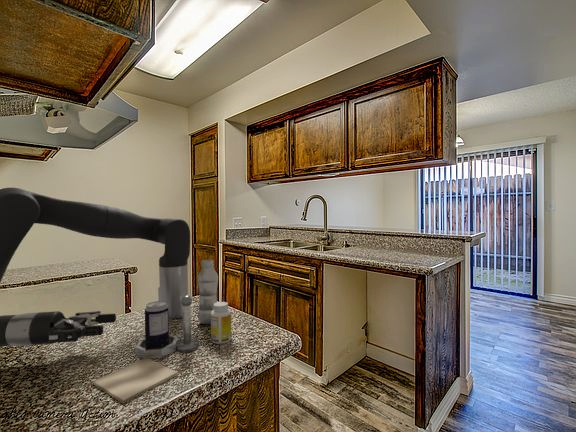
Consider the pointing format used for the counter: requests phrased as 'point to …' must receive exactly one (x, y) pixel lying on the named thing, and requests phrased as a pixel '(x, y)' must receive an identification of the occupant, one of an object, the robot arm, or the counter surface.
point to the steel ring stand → (173, 337)
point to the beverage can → (156, 325)
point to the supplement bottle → (220, 323)
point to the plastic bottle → (207, 291)
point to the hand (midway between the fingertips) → (109, 323)
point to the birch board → (134, 379)
